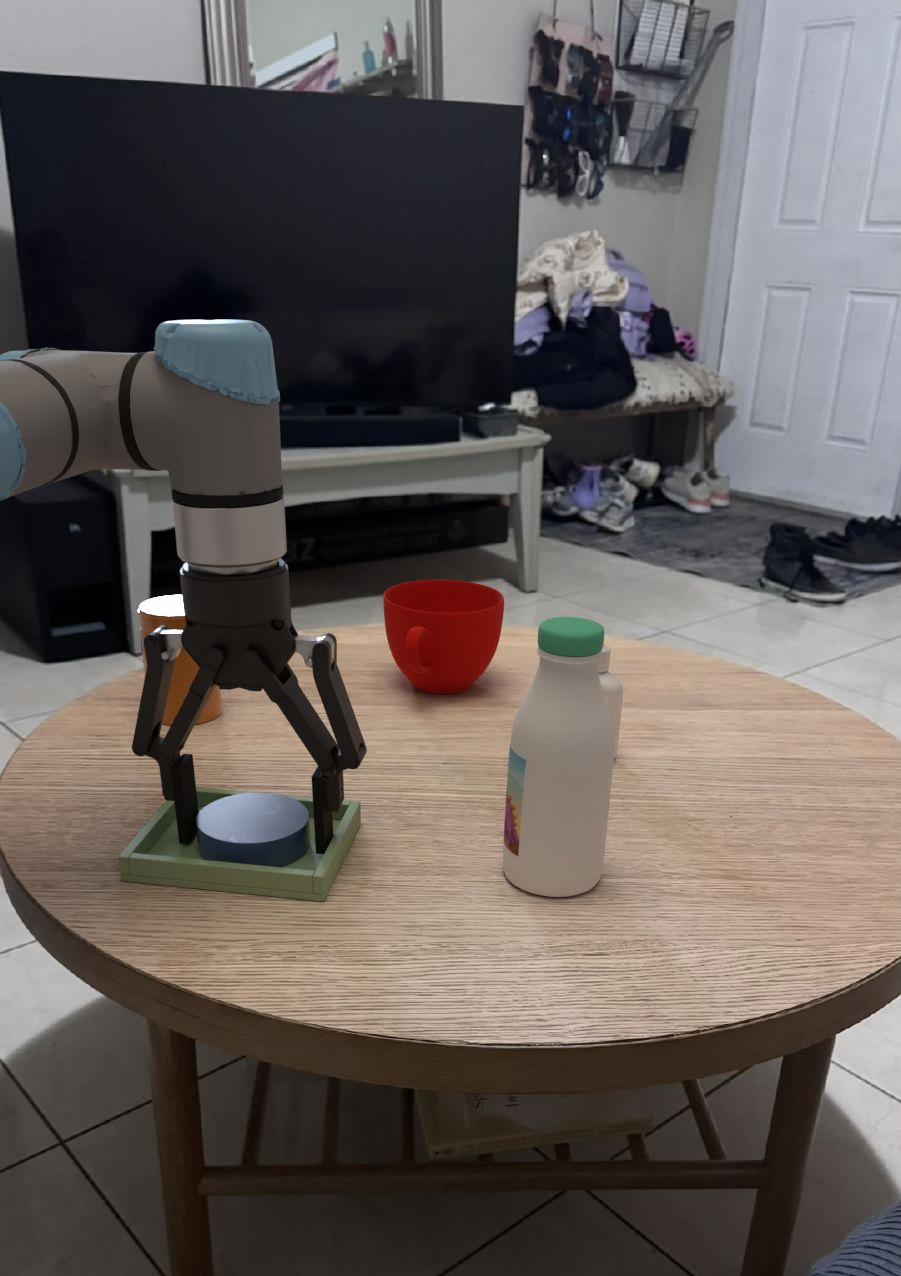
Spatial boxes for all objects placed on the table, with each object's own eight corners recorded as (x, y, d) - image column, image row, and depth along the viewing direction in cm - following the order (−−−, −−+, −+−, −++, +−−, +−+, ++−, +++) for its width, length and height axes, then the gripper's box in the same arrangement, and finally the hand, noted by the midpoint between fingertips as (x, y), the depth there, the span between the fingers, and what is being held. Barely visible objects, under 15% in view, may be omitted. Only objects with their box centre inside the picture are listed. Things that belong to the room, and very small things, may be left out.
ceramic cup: (350, 707, 117) (349, 614, 112) (407, 658, 131) (408, 574, 127) (469, 725, 113) (472, 630, 109) (513, 673, 128) (518, 587, 123)
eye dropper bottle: (578, 767, 105) (589, 644, 99) (555, 744, 109) (564, 626, 104) (621, 763, 106) (634, 641, 101) (596, 740, 111) (607, 623, 105)
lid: (322, 863, 86) (321, 834, 85) (208, 880, 83) (206, 851, 82) (295, 813, 93) (294, 786, 92) (189, 828, 90) (187, 800, 89)
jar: (136, 722, 111) (125, 613, 106) (164, 696, 118) (154, 592, 113) (208, 728, 110) (200, 618, 105) (231, 702, 117) (225, 597, 112)
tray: (120, 880, 84) (117, 856, 83) (180, 807, 95) (178, 784, 94) (323, 901, 82) (323, 876, 81) (360, 824, 93) (360, 801, 92)
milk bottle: (617, 867, 88) (644, 620, 79) (575, 910, 82) (600, 649, 73) (529, 841, 91) (546, 602, 82) (483, 881, 85) (496, 628, 76)
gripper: (404, 553, 80) (408, 828, 90) (101, 542, 83) (137, 810, 93) (383, 580, 73) (390, 874, 83) (54, 567, 76) (98, 853, 86)
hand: (256, 840), depth 88 cm, fingers open, 10 cm apart
